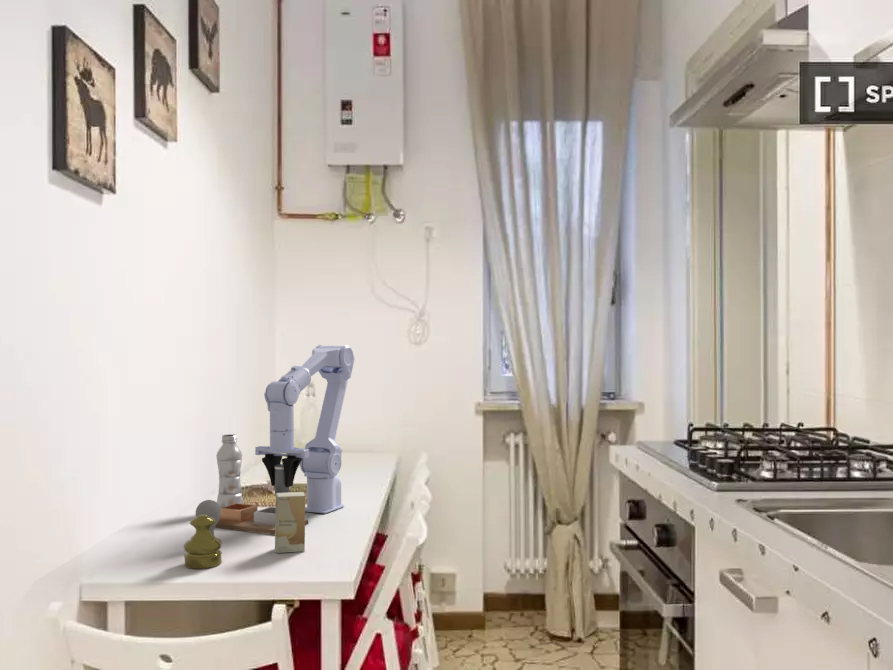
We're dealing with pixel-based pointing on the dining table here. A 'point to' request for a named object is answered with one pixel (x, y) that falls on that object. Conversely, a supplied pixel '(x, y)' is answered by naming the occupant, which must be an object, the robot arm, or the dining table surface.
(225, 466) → the plastic bottle
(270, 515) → the steel collar
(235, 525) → the walnut board
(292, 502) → the skincare box
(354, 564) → the dining table surface
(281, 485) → the grey domed cylinder
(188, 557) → the gold chess piece
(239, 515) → the copper collar
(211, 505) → the light bulb
